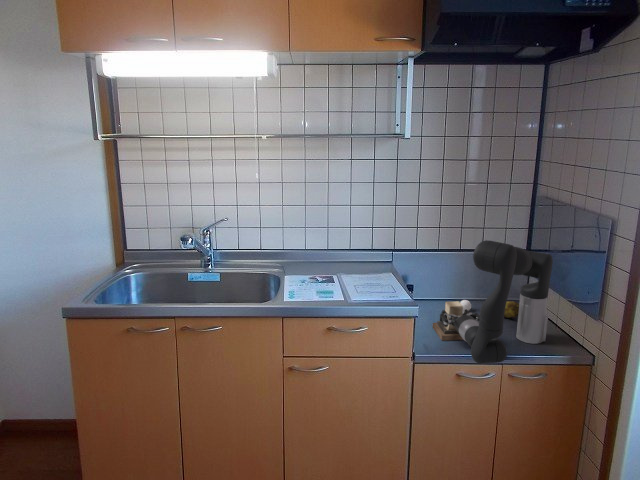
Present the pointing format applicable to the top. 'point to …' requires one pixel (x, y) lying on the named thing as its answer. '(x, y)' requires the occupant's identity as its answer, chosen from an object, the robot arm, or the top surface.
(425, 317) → the top surface
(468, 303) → the unicorn horn
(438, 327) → the walnut base
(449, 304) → the maple pillar
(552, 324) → the top surface
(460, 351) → the top surface
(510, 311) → the potato
